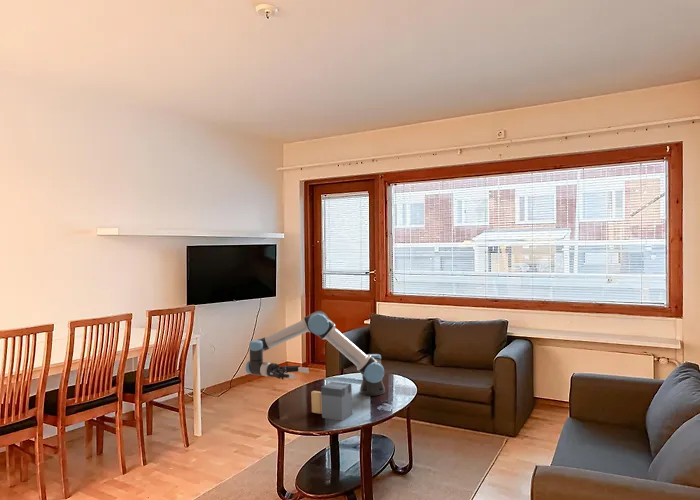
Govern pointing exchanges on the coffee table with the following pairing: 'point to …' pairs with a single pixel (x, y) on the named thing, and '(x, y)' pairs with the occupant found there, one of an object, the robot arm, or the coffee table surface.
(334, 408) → the dispenser
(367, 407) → the coffee table surface
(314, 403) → the taped cardboard box
